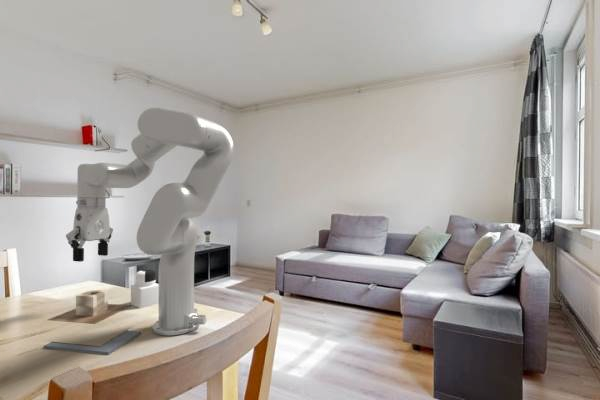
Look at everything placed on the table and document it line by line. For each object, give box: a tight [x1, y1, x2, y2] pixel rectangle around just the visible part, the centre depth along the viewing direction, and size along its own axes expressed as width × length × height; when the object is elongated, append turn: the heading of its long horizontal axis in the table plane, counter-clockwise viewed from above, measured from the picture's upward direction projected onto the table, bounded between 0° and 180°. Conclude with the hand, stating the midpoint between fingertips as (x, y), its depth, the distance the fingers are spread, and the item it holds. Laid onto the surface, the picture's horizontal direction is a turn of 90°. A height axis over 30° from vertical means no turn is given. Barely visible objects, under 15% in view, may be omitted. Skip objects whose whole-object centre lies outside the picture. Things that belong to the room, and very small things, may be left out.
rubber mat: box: [43, 330, 142, 355], centre depth 86 cm, size 18×12×1 cm, turn 80°
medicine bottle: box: [130, 269, 159, 309], centre depth 113 cm, size 7×7×12 cm
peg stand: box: [47, 303, 133, 325], centre depth 104 cm, size 16×16×5 cm
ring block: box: [75, 289, 109, 316], centre depth 104 cm, size 6×6×6 cm
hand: (91, 258), depth 104 cm, fingers open, 9 cm apart
